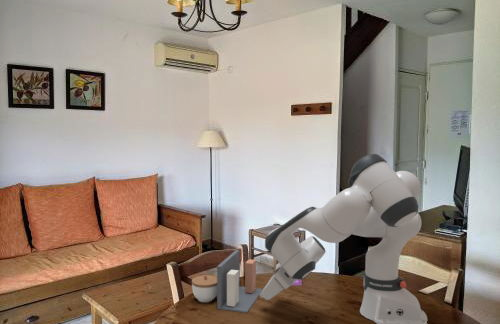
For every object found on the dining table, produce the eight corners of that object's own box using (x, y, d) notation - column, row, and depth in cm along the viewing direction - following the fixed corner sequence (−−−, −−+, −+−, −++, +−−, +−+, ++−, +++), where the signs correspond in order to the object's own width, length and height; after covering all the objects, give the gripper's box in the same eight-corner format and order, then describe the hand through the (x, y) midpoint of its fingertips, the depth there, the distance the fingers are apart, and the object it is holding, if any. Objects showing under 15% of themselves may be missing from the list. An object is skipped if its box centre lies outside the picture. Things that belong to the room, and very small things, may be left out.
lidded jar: (225, 299, 156) (225, 275, 156) (204, 307, 148) (204, 282, 148) (207, 291, 164) (207, 269, 163) (186, 299, 156) (186, 275, 155)
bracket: (301, 285, 171) (301, 269, 170) (288, 285, 171) (288, 269, 170) (297, 275, 184) (297, 260, 183) (285, 275, 184) (285, 260, 183)
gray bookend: (262, 290, 165) (262, 252, 164) (247, 312, 144) (247, 269, 143) (236, 287, 168) (236, 249, 167) (217, 308, 147) (217, 266, 146)
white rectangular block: (238, 301, 152) (238, 270, 151) (234, 306, 147) (234, 274, 146) (231, 300, 152) (231, 269, 152) (226, 305, 148) (226, 273, 147)
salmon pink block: (255, 288, 164) (255, 259, 163) (252, 293, 159) (252, 263, 159) (248, 287, 165) (248, 259, 164) (245, 292, 160) (245, 262, 159)
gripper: (287, 256, 154) (263, 278, 157) (275, 274, 134) (247, 299, 138) (299, 268, 153) (274, 291, 156) (288, 288, 133) (260, 313, 137)
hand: (261, 295), depth 147 cm, fingers closed
